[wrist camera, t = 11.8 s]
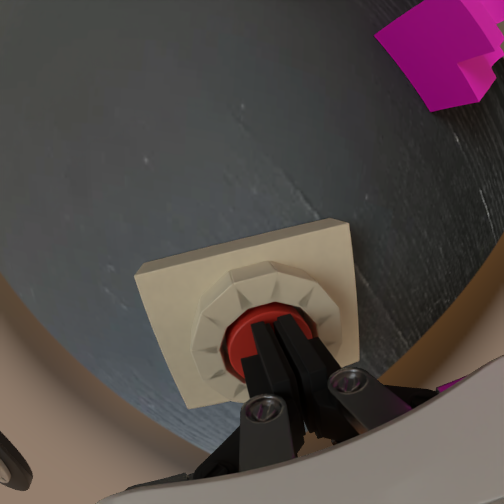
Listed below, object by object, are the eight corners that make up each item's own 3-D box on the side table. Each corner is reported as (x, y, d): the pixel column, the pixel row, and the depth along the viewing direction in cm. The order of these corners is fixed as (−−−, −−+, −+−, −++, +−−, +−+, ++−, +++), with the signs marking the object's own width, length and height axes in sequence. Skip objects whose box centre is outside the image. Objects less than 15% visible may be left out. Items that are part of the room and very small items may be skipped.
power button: (235, 370, 13) (240, 392, 12) (216, 307, 12) (218, 325, 11) (305, 351, 14) (317, 370, 12) (294, 286, 13) (308, 300, 11)
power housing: (188, 385, 16) (187, 432, 12) (143, 262, 14) (123, 290, 10) (344, 343, 17) (374, 377, 13) (330, 217, 15) (369, 228, 11)
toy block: (430, 112, 15) (518, 95, 7) (373, 35, 13) (448, -14, 6) (489, 48, 14) (543, 35, 7) (451, -4, 12) (501, -28, 5)
